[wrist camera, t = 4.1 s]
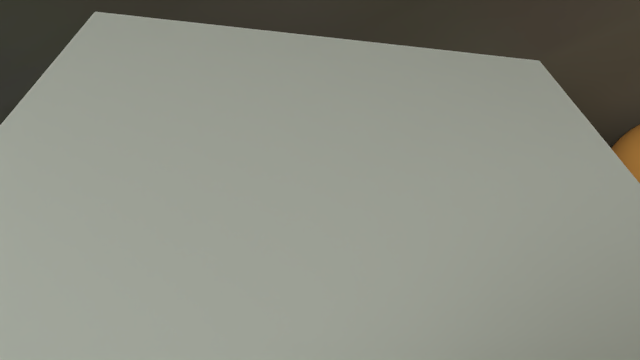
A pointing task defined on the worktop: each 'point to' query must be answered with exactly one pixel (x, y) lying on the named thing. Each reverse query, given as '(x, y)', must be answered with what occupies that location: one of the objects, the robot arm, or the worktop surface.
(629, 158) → the ball
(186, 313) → the pale grey cube
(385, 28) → the worktop surface
